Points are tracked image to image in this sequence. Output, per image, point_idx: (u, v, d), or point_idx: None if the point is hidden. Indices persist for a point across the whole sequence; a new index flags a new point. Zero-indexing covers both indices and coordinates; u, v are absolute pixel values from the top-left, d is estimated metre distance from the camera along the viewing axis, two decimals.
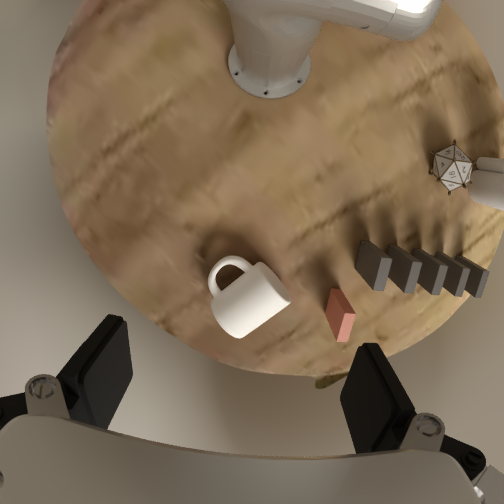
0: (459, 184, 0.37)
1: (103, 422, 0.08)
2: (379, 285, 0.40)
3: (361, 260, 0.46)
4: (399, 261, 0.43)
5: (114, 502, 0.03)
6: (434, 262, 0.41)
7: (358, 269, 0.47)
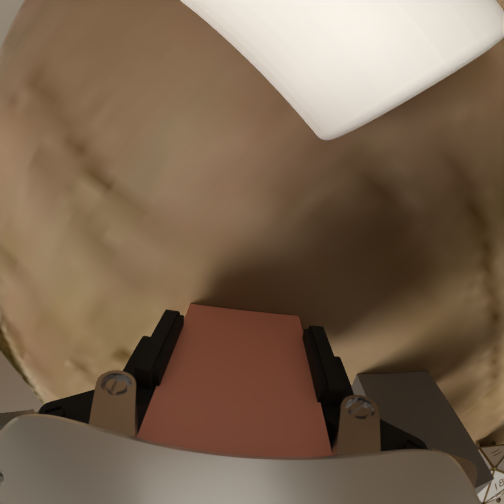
0: (484, 498, 0.12)
1: None
2: None
3: (403, 396, 0.13)
4: None
5: (114, 502, 0.03)
6: None
7: (374, 396, 0.13)
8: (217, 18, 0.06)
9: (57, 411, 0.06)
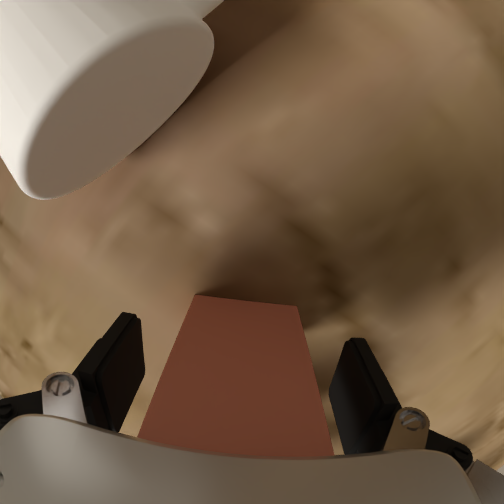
0: None
1: (118, 419, 0.08)
2: None
3: None
4: None
5: (114, 502, 0.03)
6: None
7: None
8: None
9: (6, 408, 0.05)
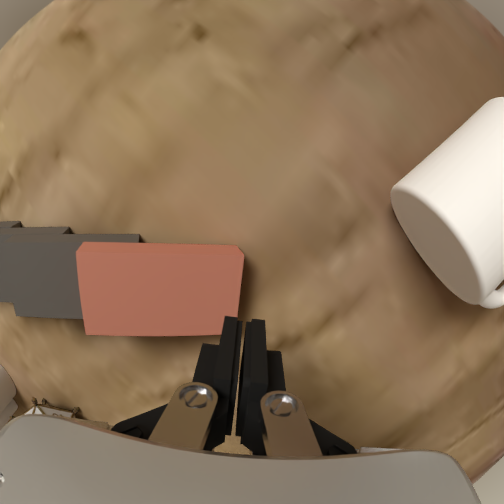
0: None
1: None
2: None
3: None
4: (7, 286, 0.15)
5: (114, 502, 0.03)
6: None
7: None
8: (463, 137, 0.11)
9: (133, 432, 0.06)
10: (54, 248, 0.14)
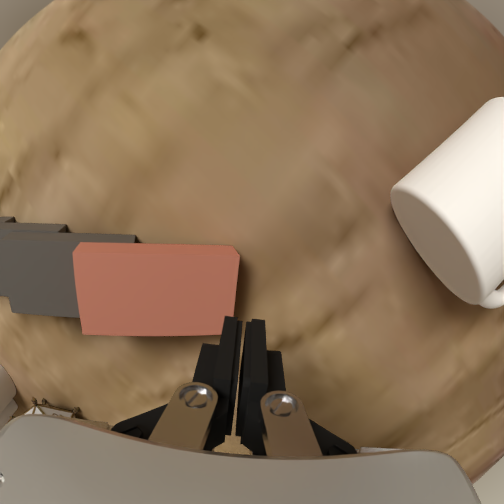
0: None
1: None
2: None
3: None
4: (3, 280, 0.15)
5: (114, 502, 0.03)
6: None
7: None
8: (463, 137, 0.11)
9: (133, 432, 0.06)
10: (50, 247, 0.14)
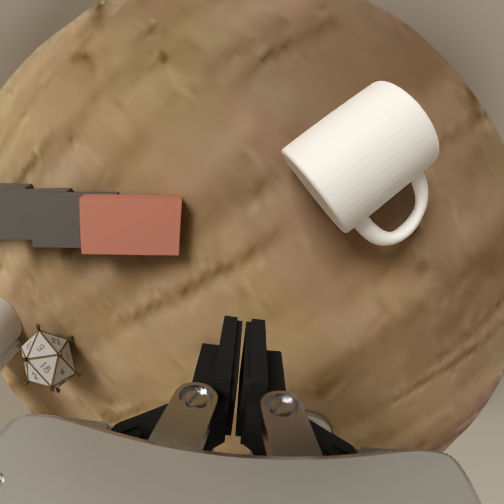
0: (32, 358, 0.25)
1: None
2: None
3: None
4: (25, 227, 0.23)
5: (114, 502, 0.03)
6: None
7: None
8: (330, 114, 0.19)
9: (133, 432, 0.06)
10: (63, 199, 0.23)
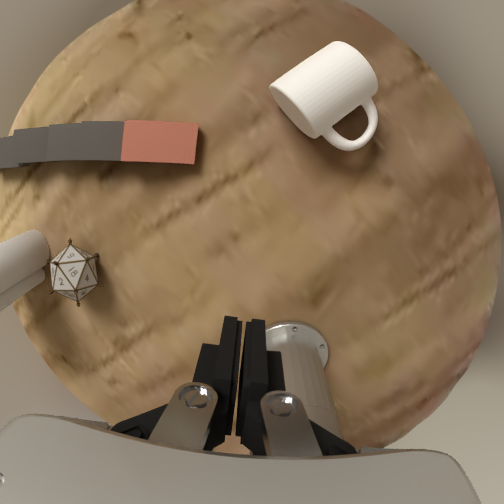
0: (62, 262, 0.33)
1: None
2: None
3: None
4: (71, 150, 0.32)
5: (114, 502, 0.03)
6: (21, 161, 0.31)
7: None
8: None
9: (133, 432, 0.06)
10: (109, 124, 0.31)
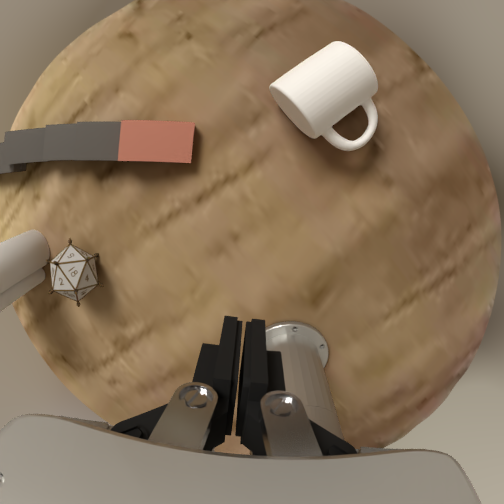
0: (62, 262, 0.33)
1: None
2: None
3: None
4: (66, 150, 0.32)
5: (114, 502, 0.03)
6: (12, 162, 0.31)
7: None
8: None
9: (133, 432, 0.06)
10: (104, 124, 0.31)
